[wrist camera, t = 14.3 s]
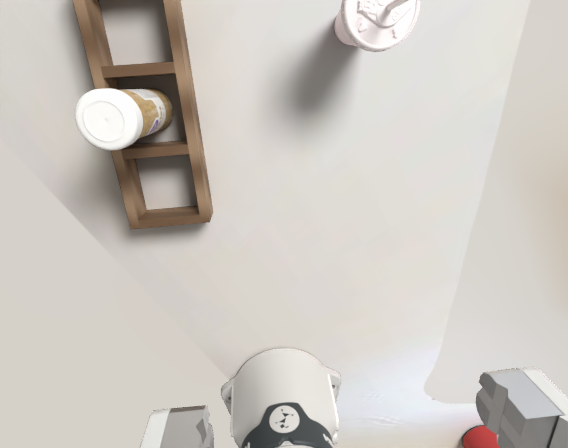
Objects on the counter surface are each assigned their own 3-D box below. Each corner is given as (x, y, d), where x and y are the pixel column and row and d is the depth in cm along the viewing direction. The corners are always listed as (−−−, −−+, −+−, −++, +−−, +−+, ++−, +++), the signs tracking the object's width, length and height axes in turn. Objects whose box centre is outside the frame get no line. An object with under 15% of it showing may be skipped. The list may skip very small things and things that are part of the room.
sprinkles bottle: (168, 136, 40) (128, 160, 27) (127, 121, 39) (67, 138, 26) (178, 96, 38) (142, 103, 26) (137, 80, 37) (78, 78, 25)
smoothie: (377, 59, 38) (439, 46, 25) (320, 58, 38) (354, 44, 25) (384, -9, 36) (457, -61, 23) (323, -11, 36) (363, -66, 23)
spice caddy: (213, 211, 43) (209, 223, 40) (137, 218, 43) (126, 230, 40) (176, -27, 34) (167, -40, 31) (78, -21, 34) (57, -34, 30)
